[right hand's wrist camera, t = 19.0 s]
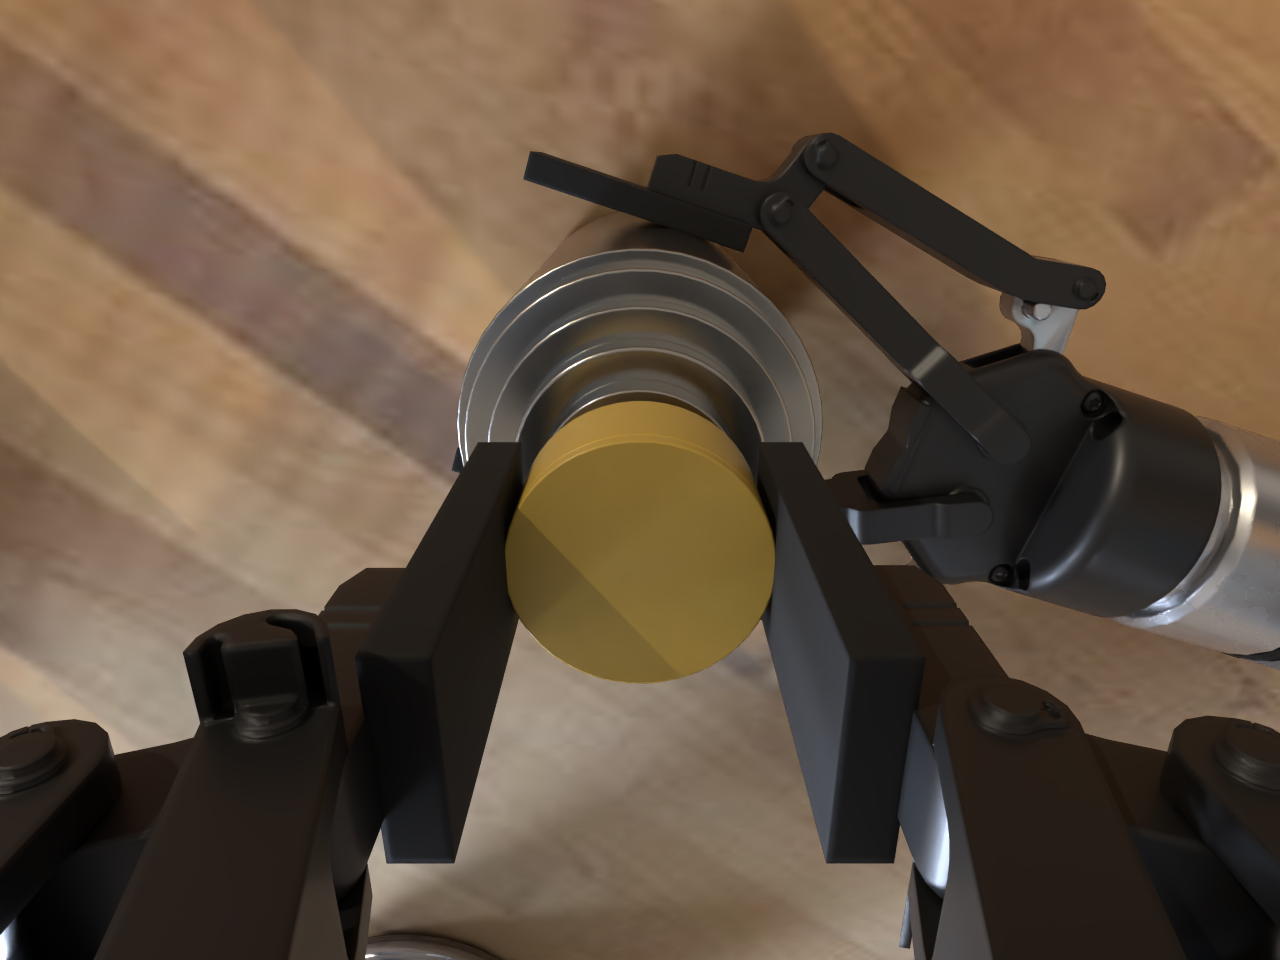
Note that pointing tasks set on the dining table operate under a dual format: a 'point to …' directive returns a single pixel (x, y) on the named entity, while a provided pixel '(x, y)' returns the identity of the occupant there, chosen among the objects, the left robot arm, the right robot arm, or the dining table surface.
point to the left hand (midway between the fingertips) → (496, 314)
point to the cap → (640, 545)
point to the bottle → (639, 344)
